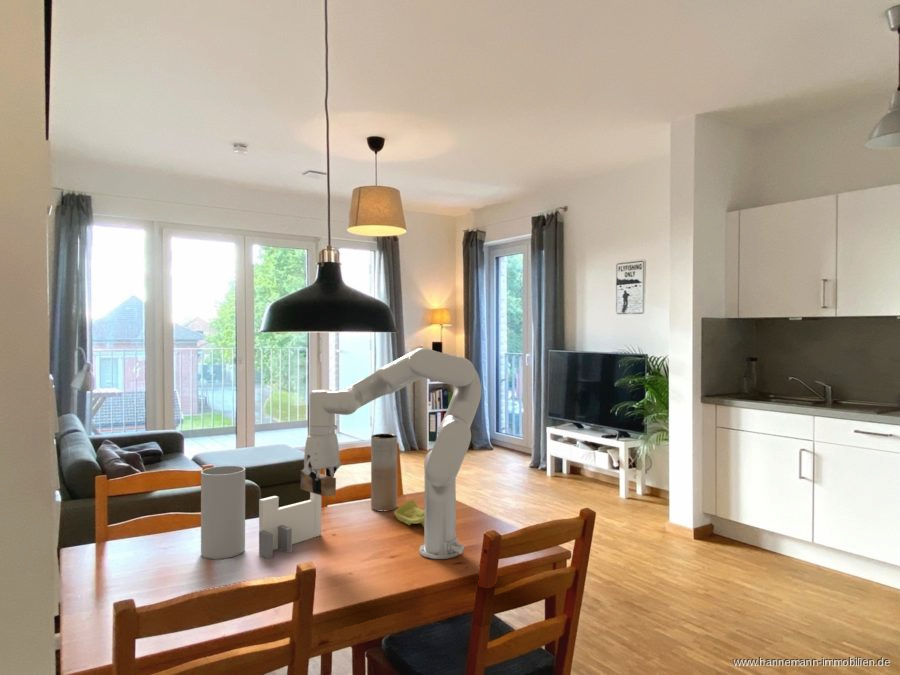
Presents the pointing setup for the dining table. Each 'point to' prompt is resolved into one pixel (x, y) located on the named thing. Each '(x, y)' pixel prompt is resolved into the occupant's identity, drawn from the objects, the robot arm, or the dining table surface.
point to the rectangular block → (326, 484)
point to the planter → (384, 471)
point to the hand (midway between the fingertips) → (322, 490)
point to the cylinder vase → (222, 512)
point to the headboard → (287, 523)
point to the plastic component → (410, 513)
